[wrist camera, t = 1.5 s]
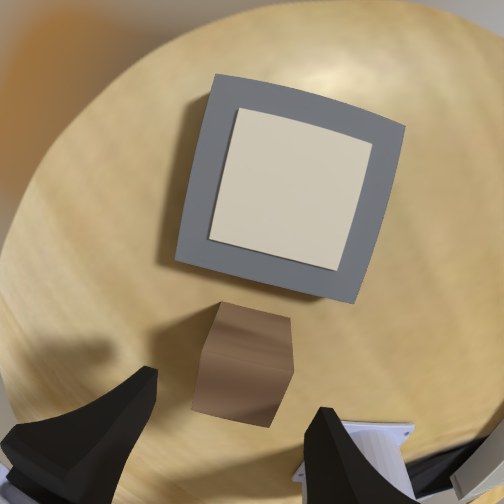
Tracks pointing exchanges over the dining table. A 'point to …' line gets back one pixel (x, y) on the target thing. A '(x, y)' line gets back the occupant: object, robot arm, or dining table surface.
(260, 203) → the plate
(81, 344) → the dining table surface
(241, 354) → the walnut block
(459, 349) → the dining table surface
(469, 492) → the grey corral
